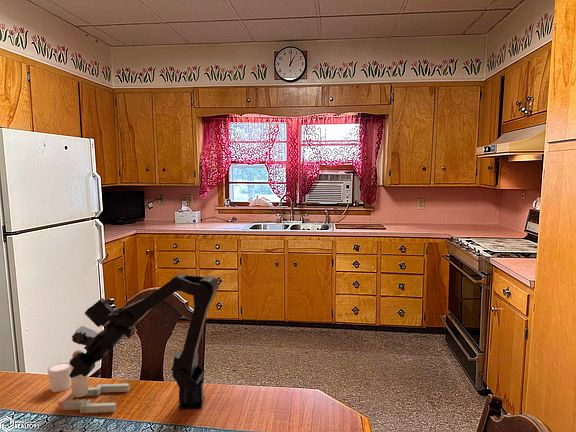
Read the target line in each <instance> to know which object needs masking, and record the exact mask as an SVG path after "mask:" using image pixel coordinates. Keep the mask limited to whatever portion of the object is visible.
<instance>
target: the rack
mask: <svg viewBox="0 0 576 432" xmlns="http://www.w3.org/2000/svg"><path fill="white" fill-rule="evenodd" d="M129 391H130V383H98V384H97V385H96V387H89V386H88V393H87V394H86V395H84V396H83V397H90V396H91V397H98V396H100V395H101V394H102V393H122V392H123V393H126V392H129ZM75 398H76V397H73V396H72V386H70V388H69V389H68V390H67V391H66V392H65V394H64V395H63V396H62V397H61V398H60V399H59V400H58V401H57V408H58V410H59V411H63V410H65V411H66V410H71V411H72V410H79V411H80V412H79V413H80V414H89V413H91V414H92V413H93V414H94V413H115V412H116V410H117V403H116V402H94V403H93V402H92V401H91V399H76V400H75Z"/></svg>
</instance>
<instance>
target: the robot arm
mask: <svg viewBox="0 0 576 432" xmlns="http://www.w3.org/2000/svg"><path fill="white" fill-rule="evenodd" d="M219 287H220V283H219V281H218V280H217V278H216V277H215V276H213V275H205V276H200V275H187V274H183V273H179V274H177V275H175V276H174V277H172V278H171V280H169V281H168V282H166V283H165V284H164V285H162V286H160V287H159V288H158V289H157V290H155V291H153V292H152V293H151V294H149V295H148V296H147V297H144V298H143V299H142V298H141V299H139V300H136V301H134V302H132V303H130V304H129V305H127V306H123V307H119V308H116V309H114V308H113V307H112V306H111V305H110V304H109V303H108V302H107V301H106V300H105V298H104V297H103V298H100V299H98V301H96V302H95V303H94V304H92V305H91V307H89V308H88V309H86V310H85V312H83V313H84V315H85V316H86V317H87V319H88V318H89V320H90V321H91V322H92V323H93V324H94V325H95V326H96V327H98V328H100V327H101V326H102V327H105V328H104V329H103V330H100V332H97V331H96V330H93V329H91V328H89V327H86V326H84V325H82V326H80V327H78V328H77V329H76V330H75V332H74V333H73V335H72V336H71V338H72V339H71V341H72V342H73V343H75V344H77V345H82V346H84V347H83V349H84V350H85V351H86V352H83V353H78V354H77V355H76V356H75V357H74V358H73V359H72V360H71V361H70V360H69V362H68V363H70V365H71V366H72V367H74V368H73V370H72V372H71V373H70V375H69V376H70V377H71V378H73V377H76V376H78V375H81V374H82V375H83V376H87V377H88V375H90V373H91V372H92V371H93V370H94V369H95V367H96V363H97V362H99V361H101V360H103V358H104V357H105V356H106V355H107V354H108V353H109V352H110V351H112V349H114V347H115V346H116V344H118V343H119V342H120V340H121V339H122V338H124V336H125V337H126V338H128V339H131V338H132V337H133V336H134V335H135V327H134V326H135V324H137V323H138V322H139V321H141V320H142V319H143V318H144V317H145V316H146V315H147V314H148V313H149V312H150V311H151V310H152V309H153V308H154V307H156V306H157V305H158V304H159V303H162V302H163V301H164V300H166V299H168V297H170V296H172V295H173V294H175V293H176V292H177V291H180V292H182V293H185V294H187V295H189V296H192V300H193V310H192V315H191V318H190V322H189V326H188V330H187V334H186V338H185V341H184V342H185V343H184V345H183V349H180V350H179V351H178V352H177V354H176V355H175V356H174V358H173V362H172V363H173V364H172V367H171V369H170V371H172V373H171V376H172V378H173V380H174V381H175V382H176V384H177V386H178V389H179V390H178V403H179V410H182V409H183V410H186V409H202V408H203V404H204V401H205V398H206V397H205V395H204V380H203V379H204V376H205V374H206V370H204V369H203V368H202V367H201V365H199V352H198V349H199V345H200V341H201V337H202V334H203V331H204V327H205V323H206V319H207V315H208V311H209V308H210V306H211V304H212V303H213V300H214V298H215V296H216V294H217V292H218V290H219ZM106 325H107V326H106Z"/></svg>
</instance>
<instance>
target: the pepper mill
mask: <svg viewBox="0 0 576 432" xmlns="http://www.w3.org/2000/svg"><path fill="white" fill-rule="evenodd" d="M78 353H84V351H82V350H80V349H77V350H75V351H74V352H73V353H72V355H71V358H70V359H69V362H70V361H71V360H72V359H73V358H74V357H75V356H76V355H77V354H78ZM70 367H71V372H72V370H73V368H74V367H72V366H71V365H70ZM88 383H89V382H88V375H87V376H83V375H82V374H81V375H78V376H76V377H73V378H71V382H70V386H71V387H72V396H73V397H75V398H81V397H85V396H84V395H86V394H87V393H88V387H89V386H88Z"/></svg>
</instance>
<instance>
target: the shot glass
mask: <svg viewBox="0 0 576 432" xmlns="http://www.w3.org/2000/svg"><path fill="white" fill-rule="evenodd" d="M70 373H71V367H70V363H69V362H59V363H55V364H53V365H50V366H49V367H48V368H47V375H48V380H49V387H50V391H51V392H53V393H56V392H57V393H58V392H64V391H65V390H69V389H70V388H71V377H70V376H69V375H70Z"/></svg>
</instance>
